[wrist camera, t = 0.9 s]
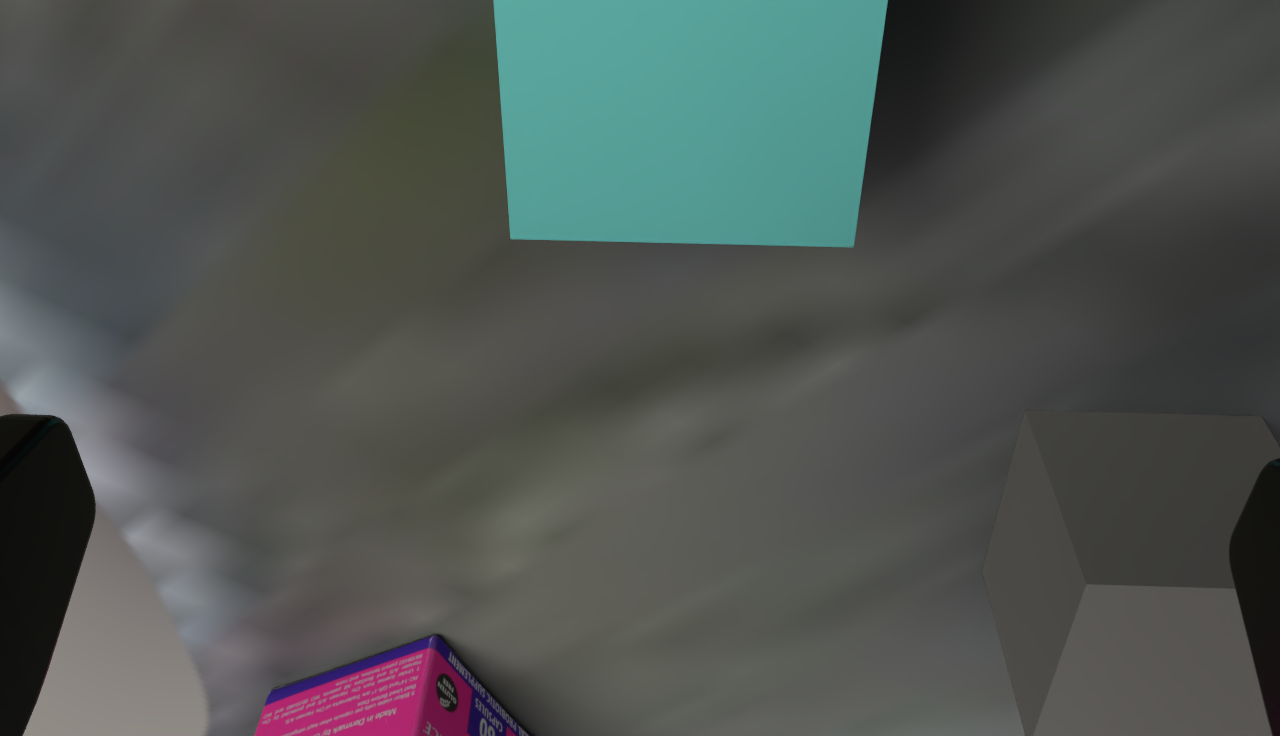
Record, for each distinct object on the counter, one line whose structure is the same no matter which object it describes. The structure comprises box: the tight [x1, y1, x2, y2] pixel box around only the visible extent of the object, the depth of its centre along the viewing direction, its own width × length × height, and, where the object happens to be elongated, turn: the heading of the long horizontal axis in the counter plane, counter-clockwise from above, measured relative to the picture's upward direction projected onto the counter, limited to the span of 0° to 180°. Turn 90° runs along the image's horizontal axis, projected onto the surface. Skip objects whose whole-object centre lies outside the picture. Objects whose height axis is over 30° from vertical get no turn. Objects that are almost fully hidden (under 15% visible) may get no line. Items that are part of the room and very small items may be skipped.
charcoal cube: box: [982, 410, 1280, 736], centre depth 25 cm, size 5×5×5 cm
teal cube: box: [494, 0, 888, 247], centre depth 17 cm, size 5×5×5 cm
